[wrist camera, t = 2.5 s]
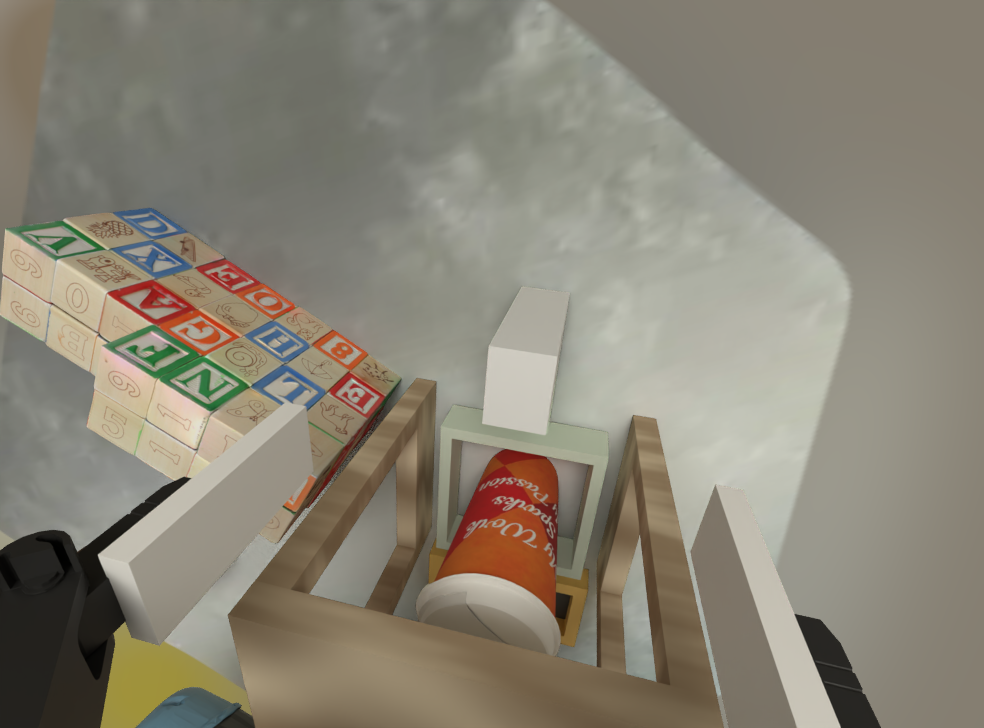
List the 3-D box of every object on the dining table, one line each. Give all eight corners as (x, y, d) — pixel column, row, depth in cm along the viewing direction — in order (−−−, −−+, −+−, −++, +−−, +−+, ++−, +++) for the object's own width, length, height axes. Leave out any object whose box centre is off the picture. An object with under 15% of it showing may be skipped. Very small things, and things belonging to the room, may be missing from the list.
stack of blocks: (135, 276, 36) (-71, 331, 25) (152, 205, 33) (-72, 231, 22) (370, 432, 37) (274, 549, 26) (405, 377, 34) (315, 483, 23)
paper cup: (592, 468, 34) (589, 651, 22) (540, 531, 38) (511, 720, 25) (499, 415, 34) (443, 570, 21) (455, 484, 37) (384, 651, 25)
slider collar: (581, 549, 37) (576, 677, 28) (447, 520, 39) (401, 632, 30) (637, 301, 28) (656, 372, 19) (459, 277, 30) (400, 331, 21)
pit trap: (575, 625, 41) (574, 647, 39) (434, 591, 43) (427, 610, 41) (588, 569, 38) (588, 590, 36) (436, 535, 40) (429, 553, 38)
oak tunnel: (615, 566, 37) (631, 925, 20) (415, 522, 40) (274, 807, 23) (656, 418, 31) (728, 749, 14) (416, 378, 34) (227, 615, 17)
